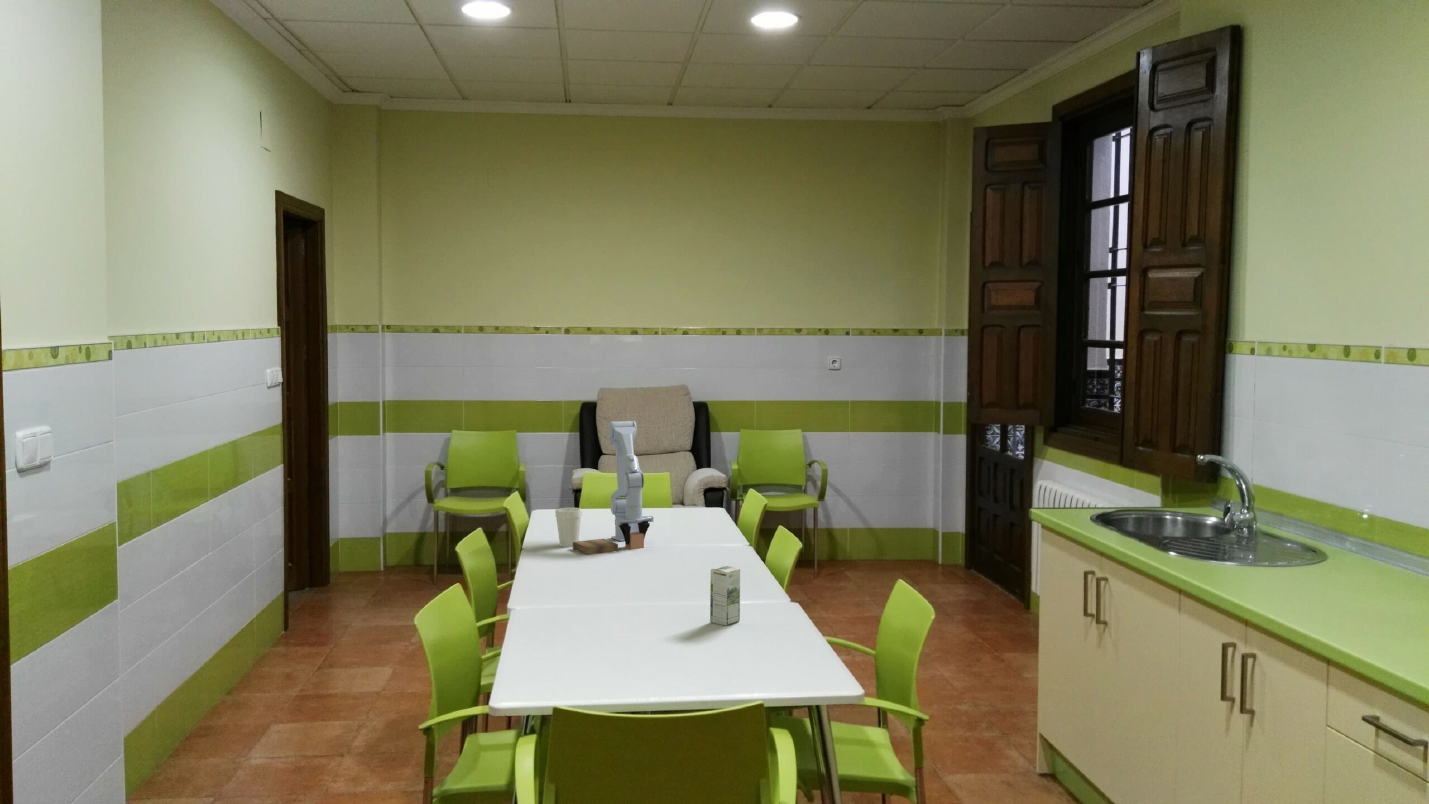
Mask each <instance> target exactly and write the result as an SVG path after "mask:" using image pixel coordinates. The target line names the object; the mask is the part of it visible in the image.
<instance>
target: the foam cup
mask: <svg viewBox="0 0 1429 804" xmlns="http://www.w3.org/2000/svg"><path fill="white" fill-rule="evenodd" d="M554 512H555V513H554V514H555V515H554V516H555V519H556V525H557V531H558V539H559V545H560V547H562V546H563V548H573V542H577V541H580V540H579V538H580V530H581V522H582V517H583V513H582V512H583V509H582V508H579V507H561V508H557V509H555V511H554Z"/></svg>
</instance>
